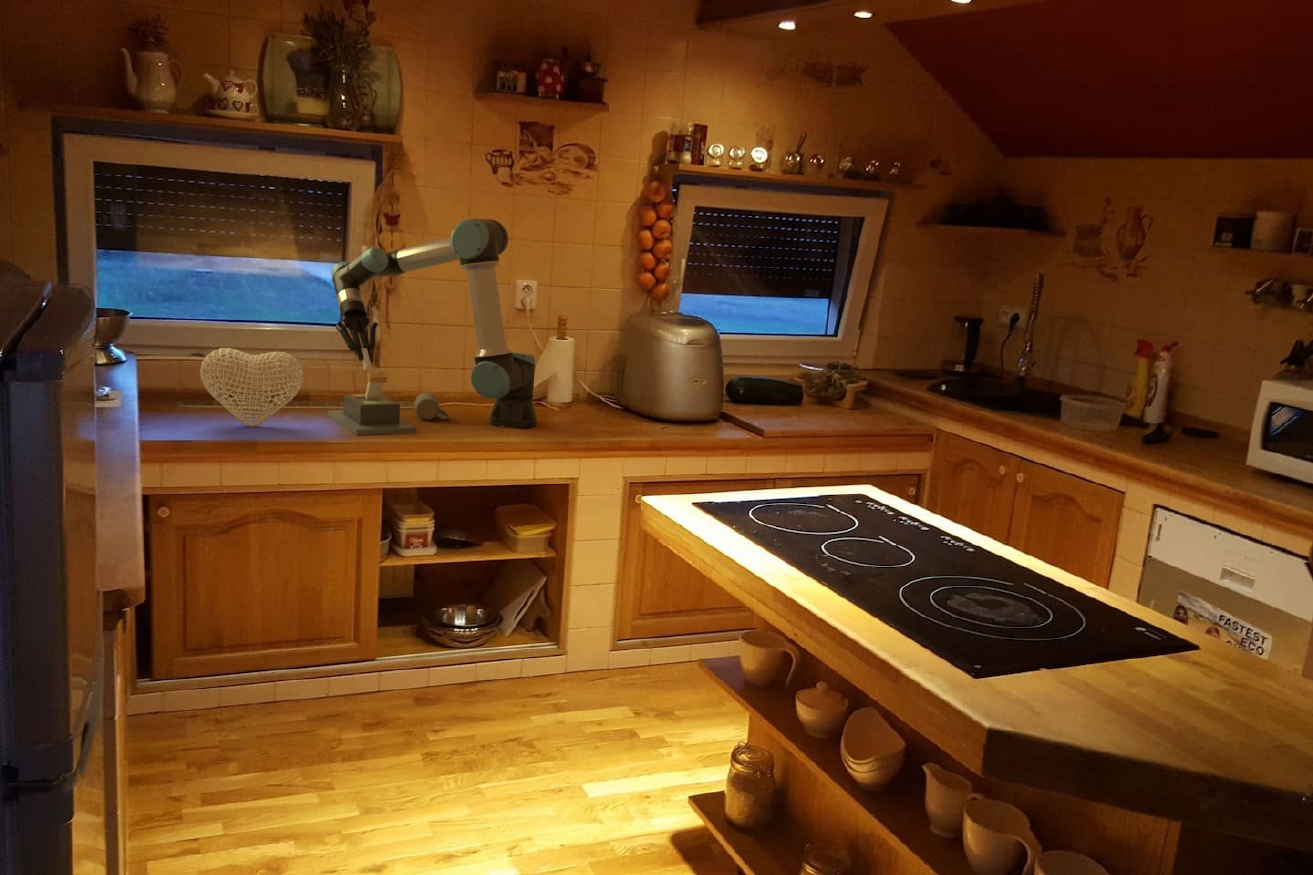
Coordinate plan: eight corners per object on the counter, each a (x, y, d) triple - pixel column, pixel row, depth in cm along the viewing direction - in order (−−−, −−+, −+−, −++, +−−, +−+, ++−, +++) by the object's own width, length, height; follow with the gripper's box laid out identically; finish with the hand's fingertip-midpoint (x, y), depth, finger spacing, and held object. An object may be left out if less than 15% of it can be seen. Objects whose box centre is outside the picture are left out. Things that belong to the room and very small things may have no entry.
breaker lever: (362, 394, 330) (367, 370, 325) (379, 394, 333) (384, 370, 328) (365, 400, 328) (370, 377, 323) (382, 400, 331) (387, 376, 326)
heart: (193, 429, 306) (193, 350, 301) (209, 418, 321) (209, 343, 316) (296, 435, 309) (297, 357, 305) (307, 424, 324) (308, 350, 320)
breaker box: (327, 415, 339) (328, 390, 337) (384, 413, 349) (384, 389, 347) (356, 435, 316) (357, 408, 314) (415, 432, 326) (416, 406, 324)
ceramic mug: (415, 420, 342) (416, 396, 341) (413, 415, 350) (415, 391, 348) (449, 422, 345) (450, 398, 344) (447, 417, 353) (448, 393, 351)
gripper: (369, 314, 348) (385, 375, 338) (328, 313, 341) (343, 375, 331) (375, 299, 342) (392, 361, 333) (334, 298, 335) (349, 361, 325)
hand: (367, 368), depth 332 cm, fingers closed
